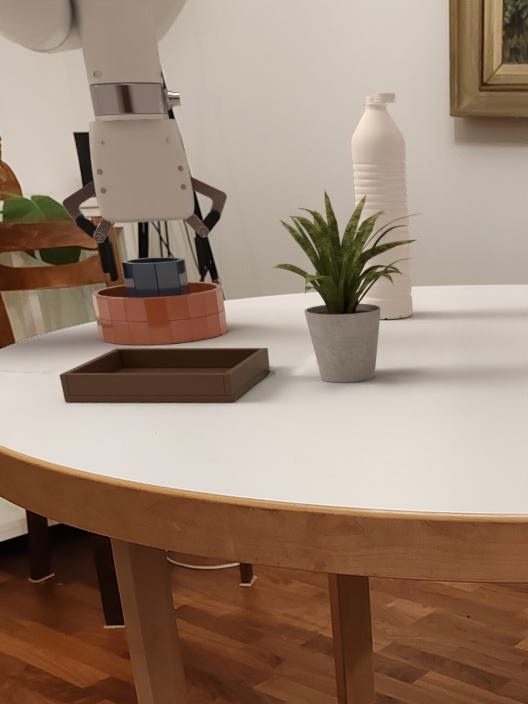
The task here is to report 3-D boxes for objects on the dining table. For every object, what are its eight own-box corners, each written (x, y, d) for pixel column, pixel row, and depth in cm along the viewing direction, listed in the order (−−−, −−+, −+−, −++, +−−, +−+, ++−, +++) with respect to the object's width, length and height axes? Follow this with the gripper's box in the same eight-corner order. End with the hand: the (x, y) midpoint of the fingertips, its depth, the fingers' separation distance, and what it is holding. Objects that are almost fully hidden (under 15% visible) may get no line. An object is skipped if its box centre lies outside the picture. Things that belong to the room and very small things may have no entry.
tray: (64, 402, 87) (59, 374, 85) (120, 373, 97) (116, 348, 96) (233, 402, 85) (229, 374, 84) (270, 372, 96) (267, 347, 95)
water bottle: (357, 314, 129) (342, 96, 117) (405, 310, 130) (395, 96, 119) (373, 324, 121) (358, 92, 110) (423, 320, 123) (414, 92, 112)
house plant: (394, 400, 85) (383, 193, 78) (248, 393, 88) (223, 194, 81) (439, 366, 97) (433, 185, 90) (310, 362, 101) (293, 187, 93)
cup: (127, 338, 112) (114, 263, 108) (148, 329, 117) (136, 257, 114) (182, 338, 111) (170, 263, 107) (200, 328, 117) (190, 257, 113)
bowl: (80, 350, 109) (70, 298, 106) (130, 328, 121) (122, 281, 119) (205, 350, 108) (198, 297, 105) (243, 328, 120) (237, 280, 118)
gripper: (212, 104, 109) (235, 268, 117) (47, 109, 105) (81, 278, 113) (215, 102, 102) (238, 275, 110) (38, 106, 98) (76, 286, 106)
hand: (159, 277), depth 111 cm, fingers open, 9 cm apart
